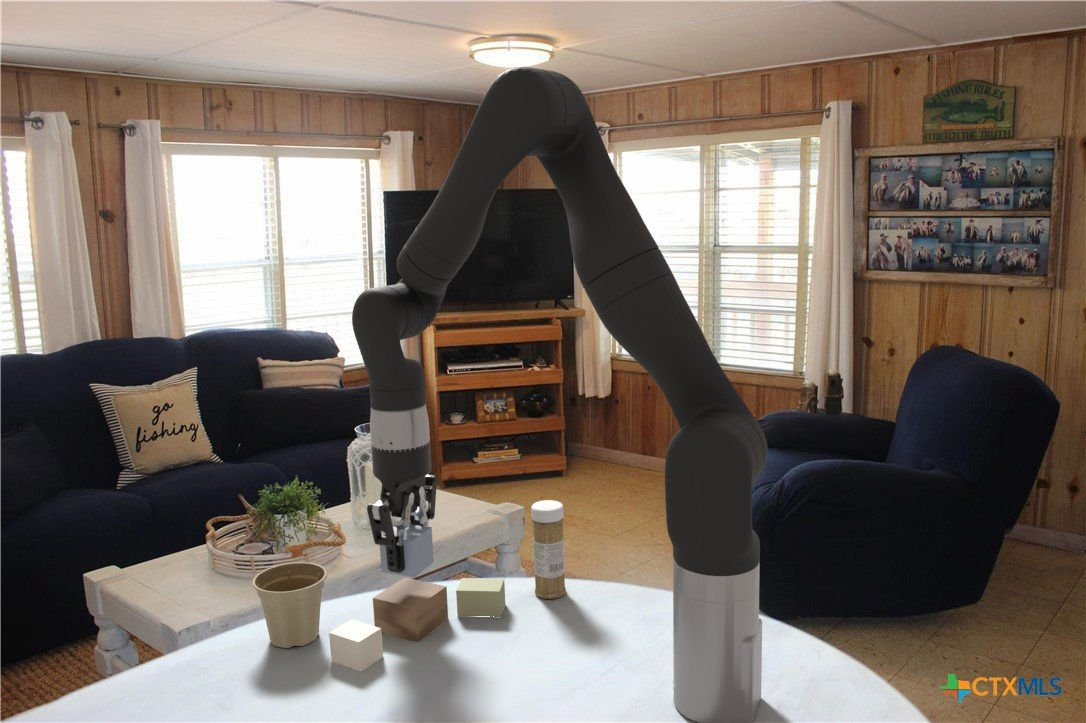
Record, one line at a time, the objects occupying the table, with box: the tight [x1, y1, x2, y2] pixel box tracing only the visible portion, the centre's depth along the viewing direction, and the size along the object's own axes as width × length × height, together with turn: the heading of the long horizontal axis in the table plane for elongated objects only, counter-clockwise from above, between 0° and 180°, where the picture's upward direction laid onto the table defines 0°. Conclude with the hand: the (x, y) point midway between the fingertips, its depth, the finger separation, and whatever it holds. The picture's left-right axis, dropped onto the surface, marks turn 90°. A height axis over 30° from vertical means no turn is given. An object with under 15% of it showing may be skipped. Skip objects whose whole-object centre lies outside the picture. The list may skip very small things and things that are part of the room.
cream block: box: [328, 618, 384, 672], centre depth 112 cm, size 5×4×4 cm
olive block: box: [455, 577, 506, 618], centre depth 124 cm, size 6×4×4 cm, turn 83°
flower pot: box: [252, 561, 328, 649], centre depth 118 cm, size 9×9×9 cm
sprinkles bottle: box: [530, 499, 567, 600], centre depth 128 cm, size 5×5×13 cm
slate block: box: [379, 524, 434, 578], centre depth 119 cm, size 5×5×5 cm
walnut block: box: [372, 576, 449, 644], centre depth 120 cm, size 7×7×5 cm
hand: (407, 562), depth 119 cm, fingers closed on slate block, 5 cm apart
